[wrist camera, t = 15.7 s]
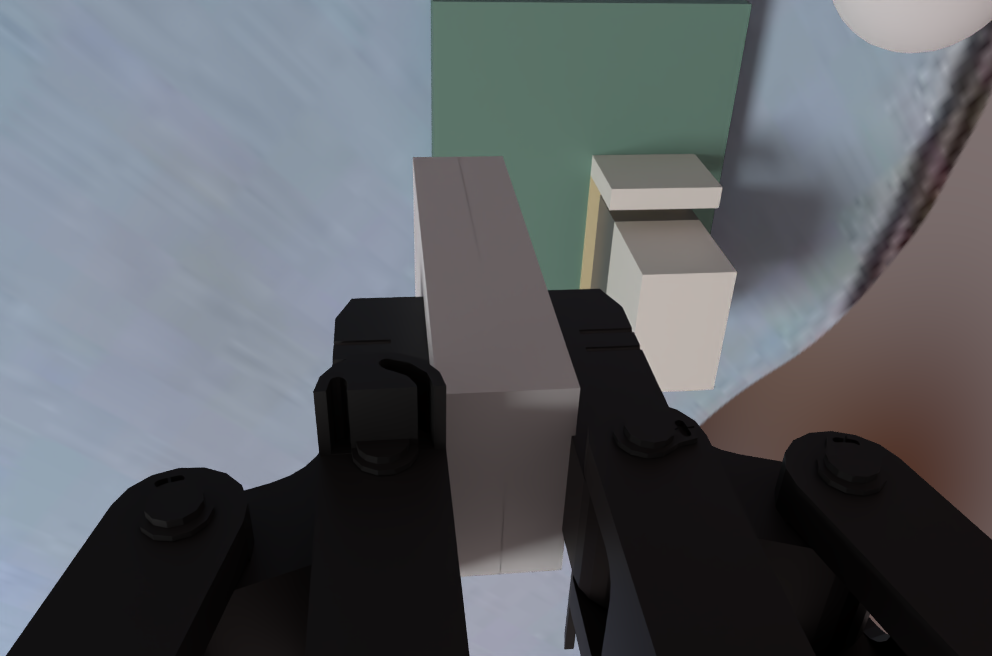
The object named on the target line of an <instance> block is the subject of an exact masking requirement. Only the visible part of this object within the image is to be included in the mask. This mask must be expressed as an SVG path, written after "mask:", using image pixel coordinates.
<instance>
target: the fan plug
mask: <svg viewBox="0 0 992 656" xmlns="http://www.w3.org/2000/svg"><path fill="white" fill-rule="evenodd" d="M736 275H737V271H736V270H735V268H734V267H733V266H732V264H731V263H730V262H729V260H728V259H727V257H726V256H725V255H724V253H723V252H722V250H721V249H720V248H719V246H718V245H717V244H716V242H715V241H714V239H713V238H712V237H711V235H710V234H709V232H708V231H707V230H706V228H705V227H704V226H703V224H702V223H701V221H700V220H699V219H698V217H697V216H696V215H695V213H694V212H693V210H692V209H647V210H609V208H608V207H607V205H606V203H605V201H604V199H603V197H602V195H600V201H599V210H598V220H597V230H596V239H595V249H594V259H593V269H592V278H591V288H590V289H601V290H602V291H603V292H605V293H606V294H607V295H608V296H610V297H611V298H612V299H613V300H615V301H616V302H617V303H618V304H620V305H621V306H622V307H623V309H624V311H625V314H626V316H627V318H628V320H629V322H630V324H631V327H632V332H634V333H635V335H636V337H637V340H638V342H639V344H640V350H643V352H644V355H645V357H646V359H647V361H648V363H649V365H650V368H651V370H652V372H653V374H654V376H655V378H656V381H657V383H658V385H659V387H660V389H661V391H662V392H671V391H693V390H713V388H714V383H715V378H716V373H717V369H718V364H719V359H720V354H721V349H722V344H723V339H724V334H725V329H726V324H727V319H728V315H729V310H730V305H731V300H732V295H733V290H734V285H735V280H736Z"/></svg>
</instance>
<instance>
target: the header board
mask: <svg viewBox="0 0 992 656" xmlns="http://www.w3.org/2000/svg"><path fill="white" fill-rule="evenodd" d="M751 6H752V4H751V3H749V2H748V1H746V0H431V87H432V157H478V156H503V159H504V162H505V165H506V168H507V171H508V174H509V177H510V180H511V183H512V186H513V189H514V192H515V195H516V198H517V201H518V204H519V207H520V209H521V212H522V215H523V218H524V221H525V224H526V227H527V230H528V233H529V236H530V239H531V242H532V245H533V248H534V251H535V254H536V257H537V260H538V263H539V266H540V269H541V272H542V275H543V278H544V281H545V284H546V287H547V290H570V289H590V288H591V278H592V269H593V259H594V249H595V239H596V230H597V220H598V210H599V201H600V195H602V197H603V199H604V201H605V203H606V205H607V207H608V208H609V210H647V209H692V210H693V212H694V213H695V215H696V216H697V217H698V219H699V220H700V221H701V223H702V224H703V226H704V227H705V228H706V230H707V231H708V232H709V234H710V233H711V227H712V221H713V216H714V210H715V208H719V204H720V198H721V193H722V186H721V185H720V184H719V183H720V177H721V172H722V166H723V161H724V155H725V150H726V144H727V139H728V133H729V128H730V122H731V117H732V111H733V106H734V100H735V94H736V89H737V83H738V78H739V72H740V67H741V61H742V56H743V50H744V45H745V39H746V34H747V28H748V23H749V17H750V12H751Z"/></svg>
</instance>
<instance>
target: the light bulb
mask: <svg viewBox="0 0 992 656" xmlns="http://www.w3.org/2000/svg"><path fill="white" fill-rule="evenodd" d="M833 3H834V5H835V7H836V9H837V11H838V13H839V15H840V17H841V19H842V20H843V21H844V22H845V24H846V25H847V26H848V27H849V28H850V29H851V30H852V31H853V32H854V33H855V34H856V35H858V36H859V37H860V38H862V39H863V40H865V41H866V42H868V43H870V44H872V45H875V46H878V47H880V48H883V49H886V50H889V51H893V52H901V53H920V52H929V51H935V50H939V49H942V48H945V47H948V46H951V45H953V44H955V43H957V42H959V41H961V40H963V39H965V38H967V37H969V36H971V35H973V34H974V33H976V32H977V31H979V30H980V29H981V28H983V27H984V26H986V25H987V24H988V23H989V22H990V21H991V20H992V0H833Z"/></svg>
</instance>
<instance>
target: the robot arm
mask: <svg viewBox="0 0 992 656" xmlns="http://www.w3.org/2000/svg"><path fill="white" fill-rule="evenodd" d="M413 192H414V246H415V297H392V298H359V299H351V300H350V302H349V303H348V304H347V305H346V306H345V308H344V309H343V310H342V311H341V313H340V314H339V315H338V316H337V317H336V319H335V333H334V347H333V364H332V367H331V368H330V369H328V370H327V371H326V372H325V373H324V374H322V375H321V376H320V377H319V380H318V382H317V384H316V387H315V389H314V391H313V393H314V404H315V414H316V424H317V435H318V445H319V454H318V455H317V456H316V457H315V458H314V459H313V460H312V461H311V462H310V463H309V464H308V465H306V466H305V467H304V468H302V469H300V470H299V471H297V472H295V473H294V474H292V475H290V476H288V477H285V478H283V479H280V480H277V481H275V482H272V483H269V484H266V485H262V486H259V487H255V488H252V489H248V490H245V491H244V490H243V487H242V485H241V484H240V483H238V482H237V481H236V480H234V479H233V478H232V477H230V476H229V475H228V474H227V473H223V472H219V471H216V470H212V469H208V468H177V469H174V470H170V471H166V472H163V473H159V474H155V475H152V476H150V477H148V478H146V479H144V480H143V481H141V482H139V483H137V484H135V485H133V486H132V487H130V488H128V489H127V490H126V491H125V492H124V493H123V494H122V495H121V496H120V497H119V498H118V499H117V500H116V501H115V502H114V503H113V504H112V505H111V506H110V508H109V509H108V511H107V512H106V513H105V515H104V516H103V518H102V519H101V521H100V522H99V523H98V525H97V526H96V528H95V529H94V531H93V532H92V533H91V535H90V536H89V538H88V539H87V541H86V542H85V543H84V545H83V546H82V548H81V549H80V551H79V552H78V553H77V555H76V556H75V558H74V559H73V561H72V562H71V563H70V565H69V566H68V568H67V569H66V571H65V572H64V573H63V575H62V576H61V578H60V579H59V581H58V582H57V583H56V585H55V586H54V588H53V589H52V591H51V592H50V593H49V595H48V596H47V598H46V599H45V601H44V602H43V603H42V605H41V606H40V608H39V609H38V611H37V612H36V613H35V615H34V616H33V618H32V619H31V621H30V622H29V623H28V625H27V626H26V628H25V629H24V631H23V632H22V633H21V635H20V636H19V638H18V639H17V641H16V642H15V643H14V645H13V646H12V648H11V649H10V651H9V652H8V653H7V655H6V656H469V648H468V639H467V630H466V621H465V612H464V603H463V594H462V586H461V577H464V576H479V575H494V574H508V573H523V572H537V571H552V570H561V569H562V559H563V550H564V540H565V544H566V548H567V552H568V556H569V560H570V564H571V568H572V573H571V582H570V591H569V599H568V608H567V617H566V626H565V644H564V649H574V641H575V633H576V637H577V641H578V646H579V650H580V654H581V656H992V540H991V539H990V538H989V537H988V536H987V535H986V534H985V533H983V532H982V531H981V530H980V529H979V528H978V527H977V526H976V525H975V524H973V523H972V522H971V521H970V520H969V519H968V518H967V517H965V516H964V515H963V514H962V513H961V512H960V511H959V510H957V509H956V508H955V507H954V506H953V505H952V504H951V503H950V502H949V501H947V500H946V499H945V498H944V497H943V496H942V495H941V494H940V493H938V492H937V491H936V490H935V489H934V488H933V487H931V486H930V485H929V484H928V483H927V482H926V481H925V480H924V479H922V478H921V477H920V476H919V475H918V474H917V473H916V472H915V471H913V470H912V469H911V468H910V467H909V466H908V465H907V464H906V463H904V462H903V461H902V460H901V459H900V458H899V457H897V456H896V455H894V454H893V453H891V452H890V451H888V450H887V449H885V448H884V447H882V446H881V445H879V444H877V443H874V442H872V441H869V440H866V439H864V438H861V437H859V436H856V435H851V434H845V433H839V432H833V431H828V432H817V433H808V434H806V435H804V436H802V437H800V438H797V439H795V440H793V442H792V443H791V445H790V446H789V447H788V449H787V450H786V452H785V454H784V458H783V462H781V461H775V460H769V459H763V458H758V457H752V456H745V455H740V454H736V453H732V452H728V451H724V450H720V449H718V448H716V447H713V446H712V445H711V443H710V441H709V439H708V437H707V435H706V434H705V433H704V431H703V430H702V429H701V428H700V426H699V425H698V424H697V423H696V422H695V421H694V420H693V419H691V418H690V417H688V416H686V415H685V414H683V413H682V412H680V411H678V410H676V409H673V408H670V407H669V406H668V404H667V402H666V400H665V398H664V396H663V393H662V391H661V389H660V387H659V385H658V383H657V381H656V378H655V376H654V374H653V372H652V370H651V368H650V365H649V363H648V361H647V359H646V357H645V355H644V352H643V350H640V344H639V342H638V340H637V337H636V335H635V333H634V332H632V327H631V324H630V322H629V320H628V318H627V316H626V314H625V311H624V309H623V307H622V306H621V305H620V304H618V303H617V302H616V301H615V300H613V299H612V298H611V297H610V296H608V295H607V294H606V293H605V292H603V291H602V290H601V289H570V290H547V287H546V284H545V281H544V278H543V275H542V272H541V269H540V266H539V263H538V260H537V257H536V254H535V251H534V248H533V245H532V242H531V239H530V236H529V233H528V230H527V227H526V224H525V221H524V218H523V215H522V212H521V209H520V207H519V204H518V201H517V198H516V195H515V192H514V189H513V186H512V183H511V180H510V177H509V174H508V171H507V168H506V165H505V162H504V159H503V156H478V157H413ZM870 614H871V615H872V616H873V617H874V619H875V620H876V621H877V622H878V623H879V624H880V625H881V626H882V628H883V629H884V630H885V631H886V632H887V633H888V634H889V635H888V634H886V633H884V632H883V631H882V630H881V629H880V628H879V627H878V626H877V625H876V624H875V623H874V622H873V621H872V620H871V619H870V618H869V615H870Z"/></svg>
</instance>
